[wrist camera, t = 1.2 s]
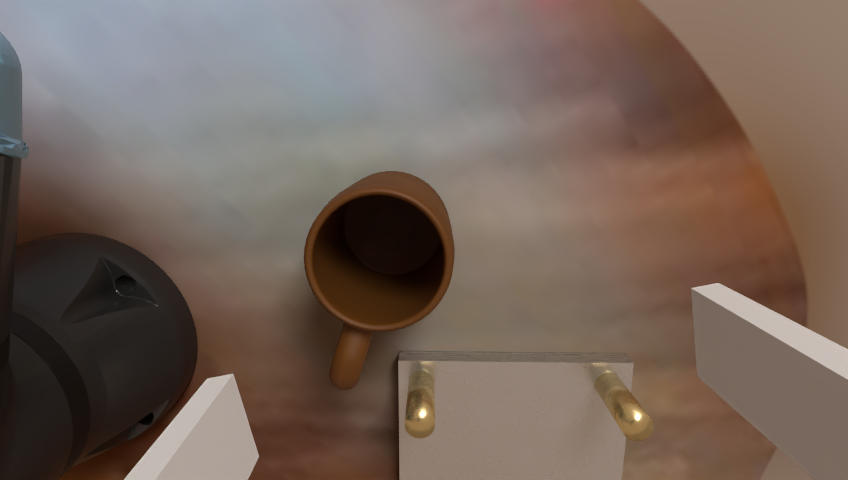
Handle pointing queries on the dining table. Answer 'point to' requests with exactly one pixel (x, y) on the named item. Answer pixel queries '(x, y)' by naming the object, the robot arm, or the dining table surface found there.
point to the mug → (378, 262)
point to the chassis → (516, 415)
